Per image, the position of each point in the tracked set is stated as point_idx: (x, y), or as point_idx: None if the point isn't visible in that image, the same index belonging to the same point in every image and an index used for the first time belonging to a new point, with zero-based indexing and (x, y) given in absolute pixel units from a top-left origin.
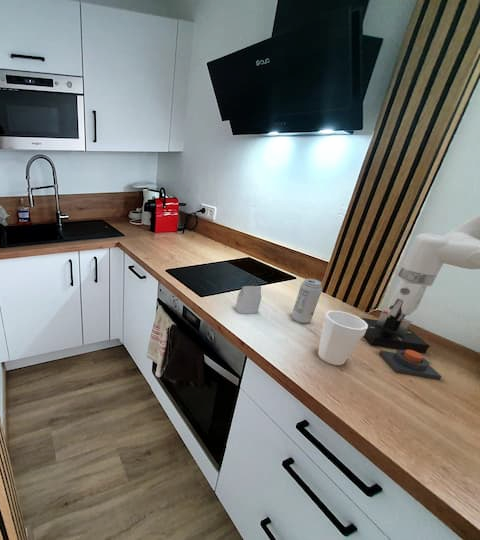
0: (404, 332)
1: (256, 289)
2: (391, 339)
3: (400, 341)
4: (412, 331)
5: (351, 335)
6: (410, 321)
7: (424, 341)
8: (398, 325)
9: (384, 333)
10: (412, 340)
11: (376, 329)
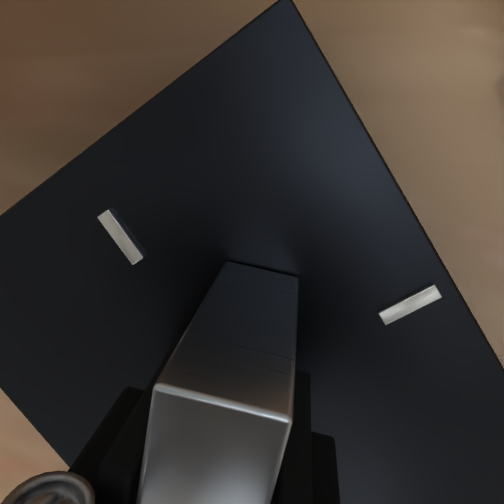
0: (295, 307)
1: None
2: (495, 372)
3: (457, 290)
4: (37, 196)
5: None
6: (187, 410)
7: (210, 59)
8: (307, 448)
9: (383, 431)
10: (312, 182)
11: (341, 489)
